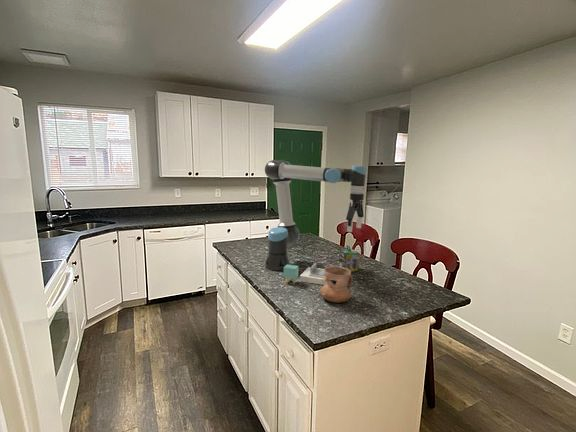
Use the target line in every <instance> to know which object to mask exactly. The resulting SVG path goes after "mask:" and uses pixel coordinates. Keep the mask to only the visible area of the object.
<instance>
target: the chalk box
mask: <svg viewBox="0 0 576 432" xmlns="http://www.w3.org/2000/svg"><path fill="white" fill-rule="evenodd" d="M338 254H339V258H338V260H339V261H338V266H339V267H344V268H347V269H349V270H350V271H351V273H353V272H359V271H360V252H359V251H357V250H355V249H352V248H351V246H349V245H346V249H339V253H338Z"/></svg>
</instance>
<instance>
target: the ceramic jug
mask: <svg viewBox="0 0 576 432" xmlns="http://www.w3.org/2000/svg"><path fill="white" fill-rule="evenodd" d="M323 269H324V275H325V278H323V279H321V281H322V282H325V281H326V282H327V284H326V285H322V287H321V288H320V291H319V292H320V295H321V297H322V298H323V299H324V300H326V301H328V302H331V303H337V304H338V303H340V304H341V303H344V302H348V301H350V299H351V298H352V291H351V290H350V287H351V285H352V282H353V276H352V272H351V271H350V270H349V269H347V268H344V267H339V265H332V266H331V265H330V266H326V267H324V268H323Z"/></svg>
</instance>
